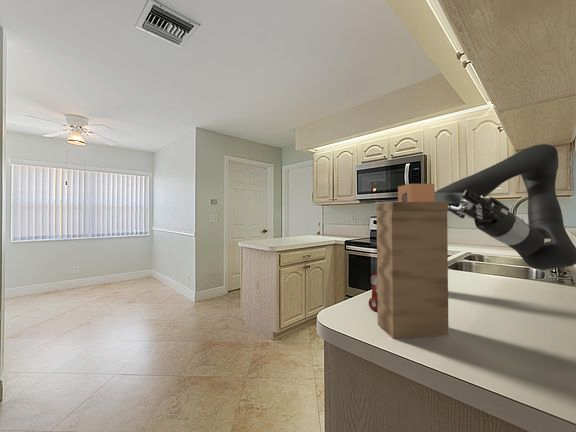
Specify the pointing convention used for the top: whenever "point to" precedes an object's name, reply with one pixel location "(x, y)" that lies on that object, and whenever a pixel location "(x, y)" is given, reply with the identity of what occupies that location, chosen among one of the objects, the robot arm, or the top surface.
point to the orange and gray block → (427, 194)
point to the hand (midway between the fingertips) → (451, 194)
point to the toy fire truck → (374, 294)
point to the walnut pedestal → (412, 268)
